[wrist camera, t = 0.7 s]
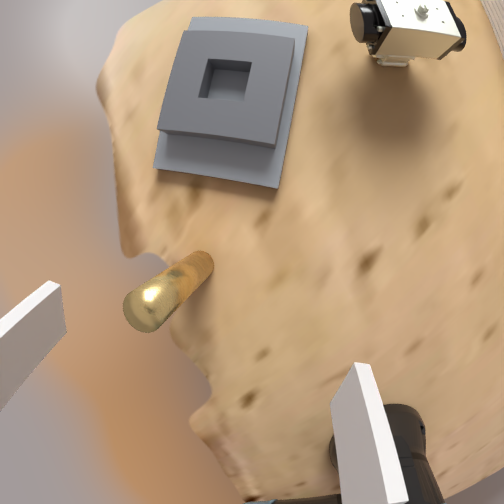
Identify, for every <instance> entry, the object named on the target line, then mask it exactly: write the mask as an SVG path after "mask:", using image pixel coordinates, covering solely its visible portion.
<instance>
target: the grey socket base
mask: <svg viewBox="0 0 504 504" xmlns="http://www.w3.org/2000/svg"><path fill="white" fill-rule="evenodd" d="M307 32H308V26H305V25H299V24H292V23H286V22H278V21H270V20H260V19H248V18H230V17H192V19H191V22H190V25H189V28H188V31H184V32H183V35H182V38H181V41H180V44H179V47H178V50H177V54H176V57H175V60H174V63H173V67H172V70H171V74H170V77H169V81H168V85H167V89H166V92H165V96H164V100H163V104H162V108H161V113H160V117H159V121H158V126H157V129H158V130H160V135H159V139H158V144H157V149H156V154H155V159H154V165H153V168H156V169H163V170H170V171H177V172H184V173H191V174H197V175H204V176H210V177H216V178H222V179H228V180H233V181H239V182H245V183H250V184H255V185H261V186H266V187H271V188H276V189H278V188H279V183H280V178H281V172H282V167H283V162H284V157H285V152H286V147H287V141H288V136H289V131H290V126H291V120H292V115H293V110H294V104H295V99H296V93H297V88H298V83H299V77H300V72H301V66H302V61H303V55H304V49H305V44H306V38H307Z"/></svg>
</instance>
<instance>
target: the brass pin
mask: <svg viewBox="0 0 504 504" xmlns="http://www.w3.org/2000/svg"><path fill="white" fill-rule="evenodd" d="M213 269H214V262H213V259H212V257H211V256H210V255H209V254H208V253H206V252H204V251H196V252H193V253H192V254H190V255H189V256H187V257H185V258H184V259H182V260H180V261H179V262H177V263H176V264H174V265H172V266H171V267H169V268H168V269H166V270H164V271H163V272H161V273H160V274H158V275H157V276H155V277H153V278H152V279H150V280H149V281H147V282H145V283H144V284H142V285H141V286H139V287H138V288H136V289H134V290H133V291H131V292H130V293H129V294H127V296H126V297H125V299H124V302H123V312H124V315H125V317H126V319H127V321H128V322H129V324H130V325H131V326H132V327H134V328H135V329H136V330H138V331H141V332H145V333H150V332H154V331H156V330H157V329H158V328H159V327H160V326H161V325H162V324H163V323H164V322H165V321H166V320H167V319H168V318H169V317H170V316H171V315H172V314H173V312H175V311H176V309H177V308H178V307H179V306H180V305H181V304H182V303H183V302H184V301H185V300H186V299H187V298H188V297H189V296H190V295H191V294H192V293H193V292H194V291H195V290H196V289H197V288H198V287H199V286H200V285H201V283H202V282H203V281H204V280H205V279H206V278H207V277H208V276H209V275H210V274H211V273H212V271H213Z"/></svg>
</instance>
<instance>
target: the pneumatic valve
mask: <svg viewBox="0 0 504 504" xmlns="http://www.w3.org/2000/svg"><path fill="white" fill-rule="evenodd" d="M350 23H351V28H352V32H353V35H354V37H355V39H356V40H357V41H358V42H359V43H366V45H367V48H368V51H369V54H370V55H372V56H373V57H375V58H379V59H380V60H377V63H378V64H380V65H381V66H398V67H405V66H406V65H407V62H408V61H409V60H410V59H412V60H414V59H415V57H420V58H430V59H438V60H441V59H442V58H443V57H445V56H447V54H448V53H449V52H450V51H455V52H459V51H461V50H463V48H464V47H465V44H466V30H465V27H464V25H463V23H462V22H461V20H460V19H459V18H458V17H456V15H455V13H454V11H453V9H452V7H451V5H450V3H449V2H446V1H442V0H363V1H362V3H353V4H352V5H351V8H350Z"/></svg>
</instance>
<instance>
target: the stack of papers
mask: <svg viewBox="0 0 504 504" xmlns="http://www.w3.org/2000/svg"><path fill="white" fill-rule="evenodd" d="M480 1H481V3H482V5H483V7H484V9H485V12H486V14H487V16H488V18H489V21H490V23H491V26H492V28H493V31H494V33H495V36H496V38H497V41H498V44H499V47H500V50H501V53H502V56H503V59H504V0H480Z"/></svg>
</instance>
